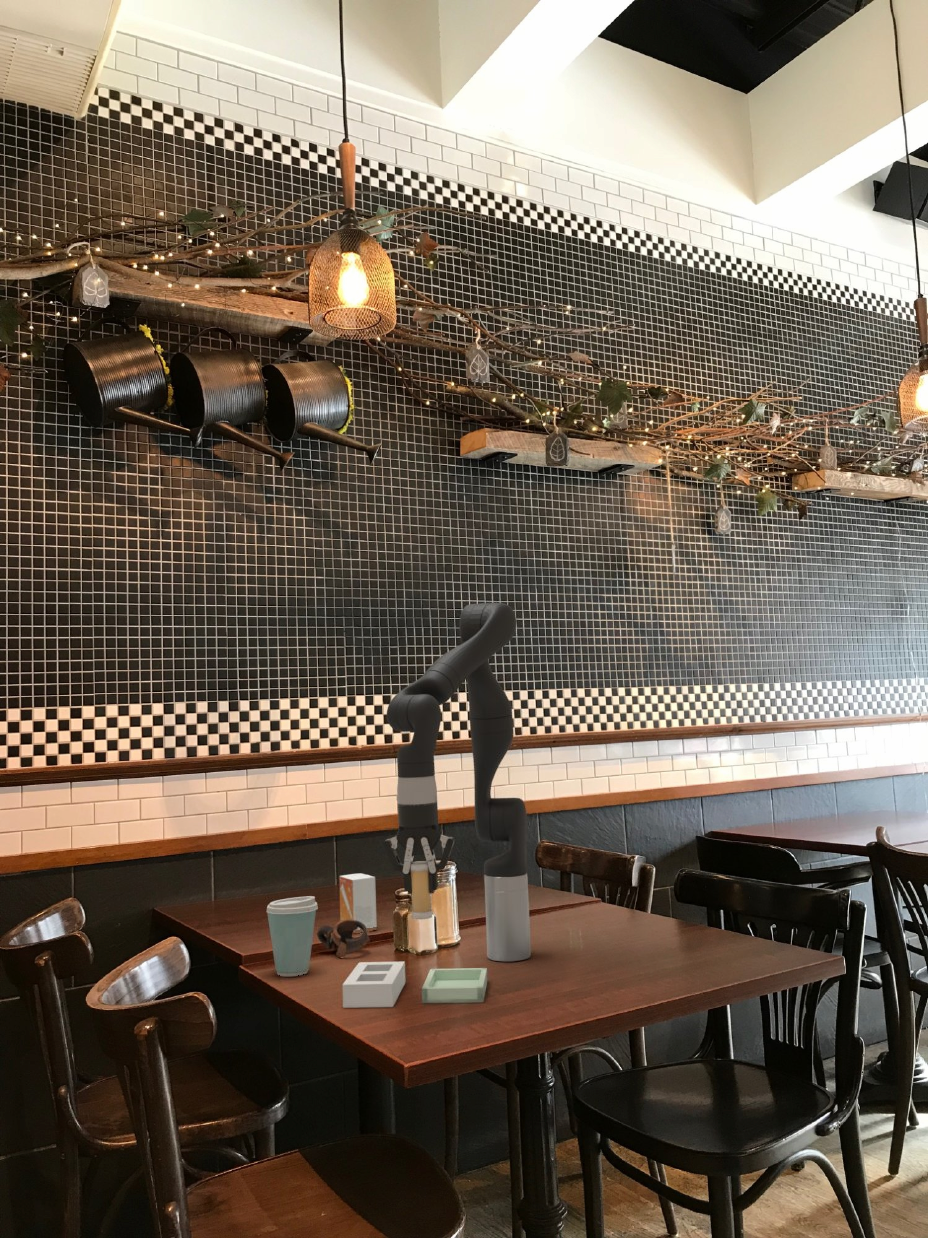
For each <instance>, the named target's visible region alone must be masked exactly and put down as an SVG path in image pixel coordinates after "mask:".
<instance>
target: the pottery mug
mask: <svg viewBox="0 0 928 1238" xmlns="http://www.w3.org/2000/svg"><path fill="white" fill-rule="evenodd" d="M358 927H359V928H360V929H362V931H363V933H361V935H360V936H359V937H356V938H355V937H354V936H353V935H354V934H353V931H354V930H357V928H358ZM367 933H368V932H367V930H366V926H365V925H364V924H363V923H361V922H359V921H356V920H352V919H345V920H341V921H340V920H339V921H337V922H336V923H335V925H334V926H333V927H332V926H329V925H321V926H320V927H319V928H318V929H317V932H316V935H317V938H318V940H319V941H320V943H321V944H323V945H324V946H325V948H326V949H327V951H330V950H331V949H332V947H333V951H334V952H335V951H336V957H338V958H339V957H344V958H345V956H346V955H349V954H352V953H354V952H357V951H359V950H362V949H363V947H365V946H366V945H367V943H368V942H370V941H371V939H370V937H369V934H367Z"/></svg>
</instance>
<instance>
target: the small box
mask: <svg viewBox="0 0 928 1238" xmlns="http://www.w3.org/2000/svg"><path fill="white" fill-rule="evenodd" d="M338 878H339V879H338V880H339V883H338V884H339V921H341V920H345V919H352V920H356V921H359V922H361V923H363V924H364V925H365V926H366V928H373V927H378V925H377V899H376V898H377V893H376V892H377V891H376V876H372V875H369V874H365V873H361V872H360V873H351V874H350V873H349V874H343V875H339V876H338ZM357 930H360V928H359V927H358V928H357Z"/></svg>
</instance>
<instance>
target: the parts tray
mask: <svg viewBox="0 0 928 1238" xmlns="http://www.w3.org/2000/svg"><path fill="white" fill-rule="evenodd" d="M488 980H489V979H488V967H474V968H473V967H469V968H466V967H465V968H463V967H462V968H430V969H429V971H428V974H427V976H426V979H425V981H424V983H423V986H422V988H421V1004H451V1003H453V1004H458V1003H459V1004H461V1003H462V1004H463V1003H464V1004H467V1003H484V1000H485V996H486V991H487V987H488Z"/></svg>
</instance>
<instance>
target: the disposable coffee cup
mask: <svg viewBox="0 0 928 1238" xmlns="http://www.w3.org/2000/svg"><path fill="white" fill-rule="evenodd" d="M315 898H316V897H315V896H312V895H309V896H308V895H307V896H298V897H297V896H296V897H287V898H283V899H278V900H273V901H271V902H270V903H269V904H267V907H266V913H267V914H266V915H267V920H268V926H269V934H270V940H271V946H272V947H271V948H272V954H273V959H274V968H275V971H276V973H277V975H278V976H279V975H280V976H279V977H285V978H287V977H289V978H290V977H299V976H303V974H304V975H305V974H307V973H309V969H310V964H311V963H310V961H311V954H312V953H311V952H312V947H313V938H314V937H313V936H314V931H315V930H314V929H315V920H316V912H317V910H318V909H319V908H318V907H319V906H318V902H317V901H316V899H315ZM298 975H299V976H298Z"/></svg>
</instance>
